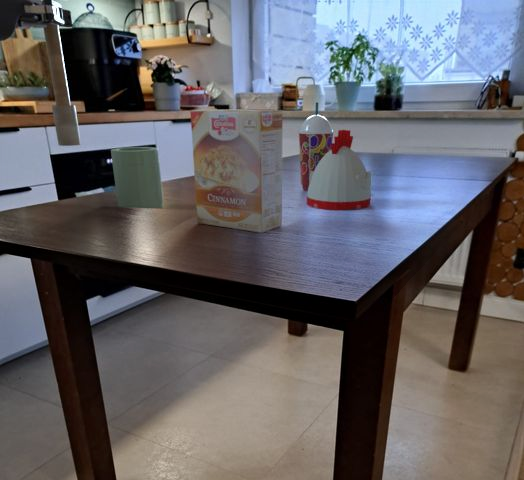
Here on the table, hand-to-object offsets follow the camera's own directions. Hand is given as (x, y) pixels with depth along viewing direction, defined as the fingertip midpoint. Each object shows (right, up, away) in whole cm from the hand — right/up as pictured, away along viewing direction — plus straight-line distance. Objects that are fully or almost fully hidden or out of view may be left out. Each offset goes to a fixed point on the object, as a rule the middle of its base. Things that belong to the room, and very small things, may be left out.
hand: (63, 19), depth 81 cm
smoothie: (+44, -11, +51) cm, 68 cm away
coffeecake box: (+27, -28, +16) cm, 42 cm away
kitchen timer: (+48, -20, +33) cm, 62 cm away
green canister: (+5, -21, +31) cm, 38 cm away
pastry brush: (-1, -17, +6) cm, 18 cm away
